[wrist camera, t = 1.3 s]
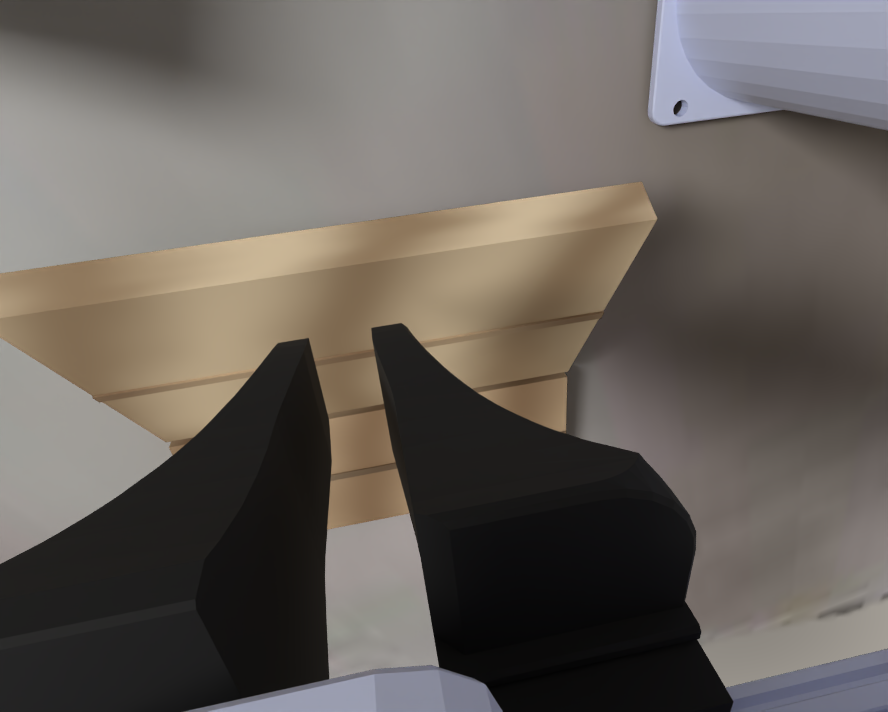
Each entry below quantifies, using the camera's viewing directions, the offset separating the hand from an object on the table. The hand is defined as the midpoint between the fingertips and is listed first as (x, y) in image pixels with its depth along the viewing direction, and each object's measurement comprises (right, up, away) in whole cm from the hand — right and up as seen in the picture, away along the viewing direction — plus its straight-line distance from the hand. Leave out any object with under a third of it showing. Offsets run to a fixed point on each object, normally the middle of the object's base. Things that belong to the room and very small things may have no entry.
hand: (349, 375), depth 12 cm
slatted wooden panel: (-1, +2, +7) cm, 7 cm away
